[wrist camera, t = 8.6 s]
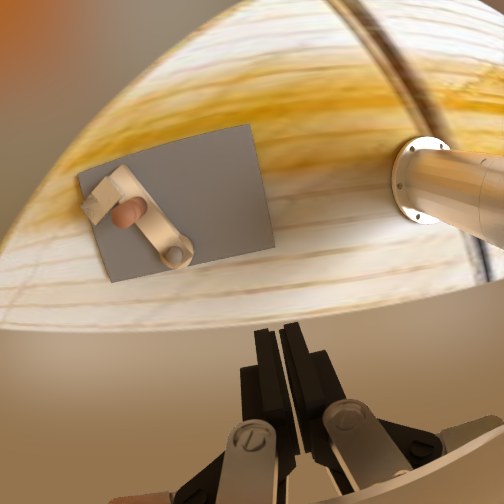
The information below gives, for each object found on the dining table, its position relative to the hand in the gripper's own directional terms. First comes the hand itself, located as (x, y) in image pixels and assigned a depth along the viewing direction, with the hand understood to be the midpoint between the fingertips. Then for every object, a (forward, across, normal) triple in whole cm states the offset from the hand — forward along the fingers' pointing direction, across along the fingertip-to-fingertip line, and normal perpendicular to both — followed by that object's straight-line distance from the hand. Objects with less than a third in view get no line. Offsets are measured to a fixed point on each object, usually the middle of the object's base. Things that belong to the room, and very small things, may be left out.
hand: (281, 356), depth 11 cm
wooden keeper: (+25, +16, -6) cm, 31 cm away
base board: (+27, +9, -3) cm, 28 cm away
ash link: (+25, +11, -2) cm, 28 cm away
